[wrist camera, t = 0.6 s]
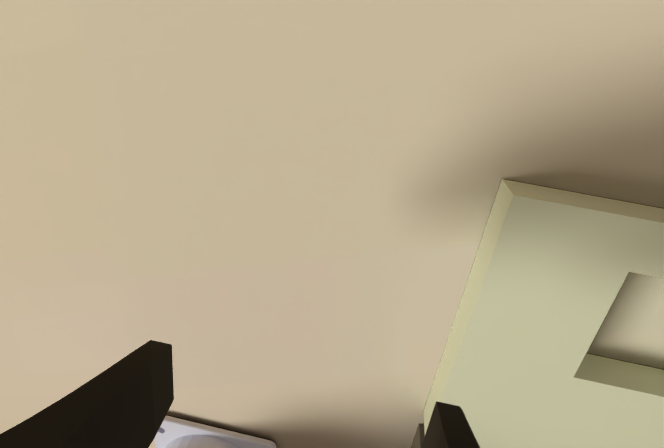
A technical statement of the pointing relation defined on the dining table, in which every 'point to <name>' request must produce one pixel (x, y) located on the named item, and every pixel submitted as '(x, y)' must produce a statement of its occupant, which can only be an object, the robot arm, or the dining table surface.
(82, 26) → the dining table surface
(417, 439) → the charger
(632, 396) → the outlet board
